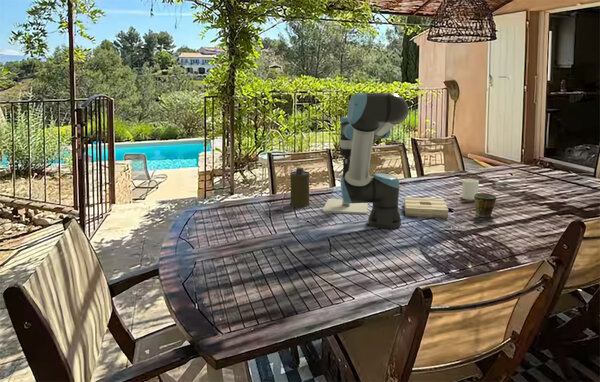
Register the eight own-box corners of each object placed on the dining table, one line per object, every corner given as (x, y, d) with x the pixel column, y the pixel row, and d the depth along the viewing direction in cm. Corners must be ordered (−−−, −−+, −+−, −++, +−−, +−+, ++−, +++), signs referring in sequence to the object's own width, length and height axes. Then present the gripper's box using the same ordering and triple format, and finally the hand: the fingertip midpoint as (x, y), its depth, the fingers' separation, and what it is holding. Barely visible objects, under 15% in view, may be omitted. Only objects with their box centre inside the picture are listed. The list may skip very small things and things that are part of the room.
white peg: (350, 206, 230) (351, 182, 227) (341, 206, 231) (341, 182, 228) (351, 204, 235) (352, 180, 231) (342, 203, 235) (342, 180, 232)
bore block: (447, 217, 214) (448, 210, 213) (405, 215, 218) (405, 208, 217) (442, 206, 233) (443, 198, 232) (404, 204, 237) (404, 197, 236)
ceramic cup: (476, 211, 225) (478, 192, 222) (497, 214, 219) (499, 195, 216) (467, 217, 215) (469, 197, 213) (488, 221, 209) (491, 201, 206)
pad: (366, 214, 221) (366, 212, 220) (322, 212, 225) (322, 210, 224) (368, 202, 242) (368, 200, 241) (328, 200, 246) (328, 198, 245)
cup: (463, 199, 245) (465, 182, 242) (457, 194, 256) (459, 177, 254) (479, 200, 244) (480, 182, 242) (472, 194, 256) (474, 177, 253)
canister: (307, 207, 233) (307, 170, 228) (288, 206, 235) (287, 169, 230) (311, 202, 243) (311, 166, 238) (292, 201, 245) (292, 165, 240)
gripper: (353, 152, 213) (352, 194, 218) (356, 144, 236) (355, 182, 242) (337, 151, 214) (336, 194, 219) (342, 143, 238) (341, 182, 243)
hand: (346, 188), depth 231 cm, fingers open, 13 cm apart
